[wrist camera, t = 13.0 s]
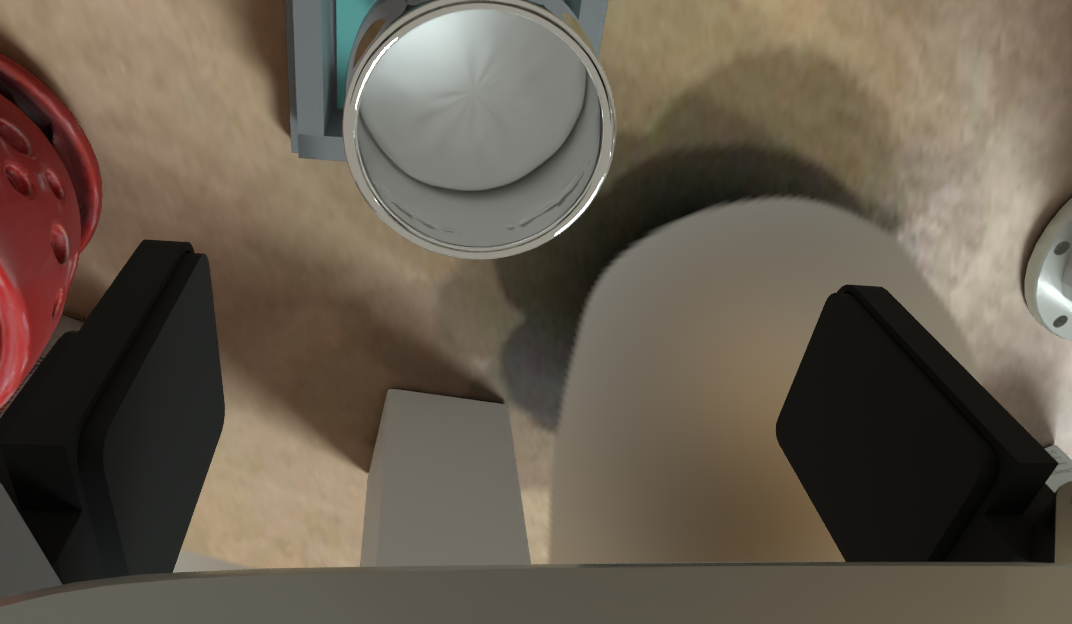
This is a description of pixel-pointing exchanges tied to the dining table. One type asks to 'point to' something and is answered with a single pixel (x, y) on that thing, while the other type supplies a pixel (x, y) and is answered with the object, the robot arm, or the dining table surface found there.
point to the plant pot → (39, 216)
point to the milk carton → (443, 485)
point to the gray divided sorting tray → (322, 59)
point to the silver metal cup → (476, 122)
